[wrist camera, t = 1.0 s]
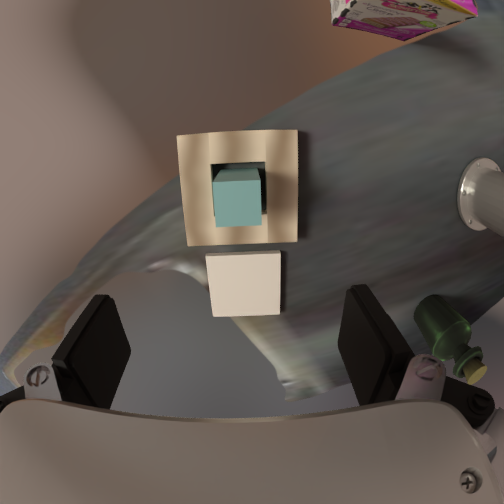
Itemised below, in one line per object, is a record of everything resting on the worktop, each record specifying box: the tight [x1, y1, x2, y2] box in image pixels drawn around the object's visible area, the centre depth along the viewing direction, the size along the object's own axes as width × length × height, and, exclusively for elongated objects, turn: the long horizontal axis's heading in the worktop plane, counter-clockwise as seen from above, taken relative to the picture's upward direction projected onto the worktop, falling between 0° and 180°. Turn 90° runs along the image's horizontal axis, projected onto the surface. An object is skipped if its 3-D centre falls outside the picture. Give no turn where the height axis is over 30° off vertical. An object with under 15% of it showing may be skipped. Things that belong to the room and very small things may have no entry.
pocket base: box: [177, 130, 298, 246], centre depth 34 cm, size 14×14×2 cm
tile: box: [206, 250, 281, 317], centre depth 41 cm, size 10×10×1 cm
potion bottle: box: [414, 295, 487, 385], centre depth 36 cm, size 8×8×18 cm
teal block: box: [212, 168, 262, 227], centre depth 31 cm, size 4×4×9 cm
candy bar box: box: [330, 0, 478, 41], centre depth 18 cm, size 11×5×16 cm, turn 91°
